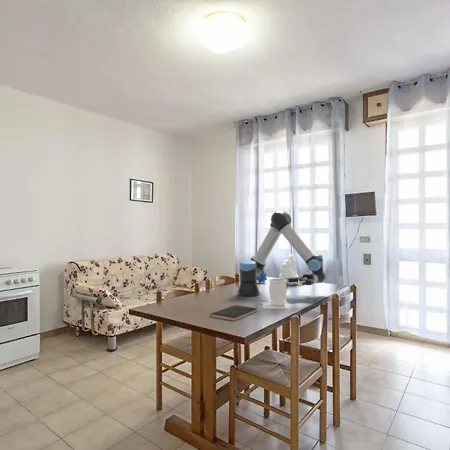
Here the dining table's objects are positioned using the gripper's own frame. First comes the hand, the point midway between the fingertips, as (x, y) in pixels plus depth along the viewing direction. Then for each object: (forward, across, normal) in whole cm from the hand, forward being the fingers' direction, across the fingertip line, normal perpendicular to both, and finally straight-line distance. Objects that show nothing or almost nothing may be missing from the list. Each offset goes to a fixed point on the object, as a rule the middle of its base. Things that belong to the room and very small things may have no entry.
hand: (290, 283), depth 212 cm
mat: (-10, +1, -12) cm, 16 cm away
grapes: (-40, +63, -12) cm, 76 cm away
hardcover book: (+45, +4, -12) cm, 47 cm away
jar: (+11, +1, -12) cm, 16 cm away
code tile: (+14, 0, -12) cm, 18 cm away
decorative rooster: (-50, +42, -12) cm, 66 cm away
